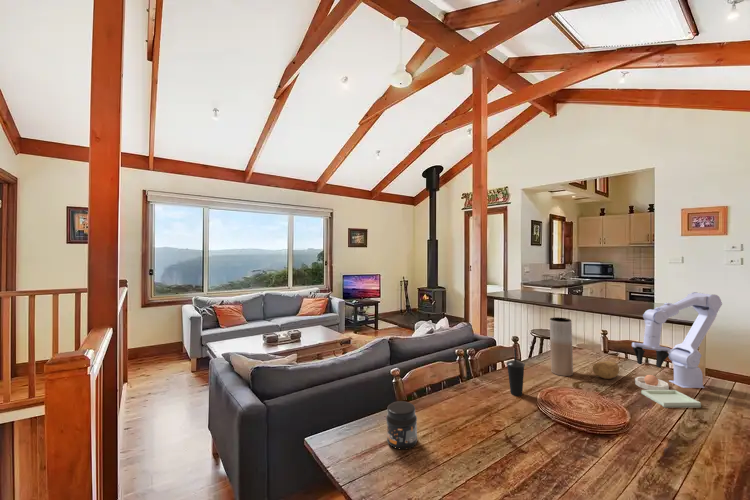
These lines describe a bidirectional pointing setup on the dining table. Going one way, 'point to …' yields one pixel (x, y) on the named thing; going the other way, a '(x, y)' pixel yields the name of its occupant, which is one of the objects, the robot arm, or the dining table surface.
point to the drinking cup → (516, 376)
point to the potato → (606, 369)
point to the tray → (671, 399)
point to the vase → (561, 346)
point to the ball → (651, 380)
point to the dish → (661, 385)
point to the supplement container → (401, 425)
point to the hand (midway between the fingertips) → (648, 365)
